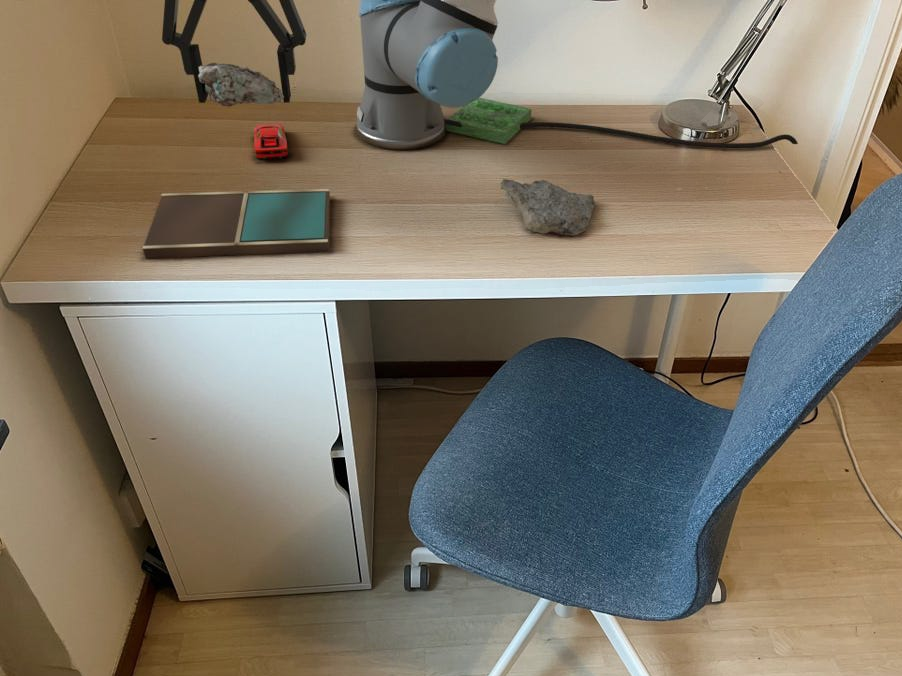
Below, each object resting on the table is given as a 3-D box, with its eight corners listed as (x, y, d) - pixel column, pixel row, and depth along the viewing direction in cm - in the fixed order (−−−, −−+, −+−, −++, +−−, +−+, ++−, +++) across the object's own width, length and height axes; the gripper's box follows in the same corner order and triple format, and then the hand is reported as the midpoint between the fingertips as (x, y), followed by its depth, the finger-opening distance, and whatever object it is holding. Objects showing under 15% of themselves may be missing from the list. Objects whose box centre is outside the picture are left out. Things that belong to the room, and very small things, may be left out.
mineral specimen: (217, 124, 98) (208, 76, 94) (189, 92, 105) (180, 46, 101) (290, 111, 102) (285, 64, 98) (259, 81, 109) (252, 36, 105)
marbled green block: (530, 119, 141) (531, 105, 139) (505, 144, 133) (505, 130, 131) (474, 107, 144) (475, 93, 143) (446, 130, 136) (446, 116, 134)
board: (330, 198, 117) (329, 188, 115) (328, 251, 106) (327, 241, 104) (164, 203, 114) (161, 193, 113) (145, 258, 103) (142, 248, 102)
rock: (578, 221, 106) (484, 184, 111) (570, 249, 108) (479, 211, 113) (613, 196, 116) (526, 163, 121) (606, 222, 119) (521, 189, 123)
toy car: (254, 132, 133) (251, 114, 130) (285, 130, 134) (282, 112, 132) (256, 163, 124) (253, 144, 122) (289, 161, 125) (286, 142, 123)
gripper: (316, -100, 92) (333, 88, 107) (118, -105, 90) (163, 88, 105) (313, -86, 87) (331, 109, 102) (101, -91, 85) (151, 110, 100)
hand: (245, 98), depth 103 cm, fingers closed on mineral specimen, 10 cm apart
